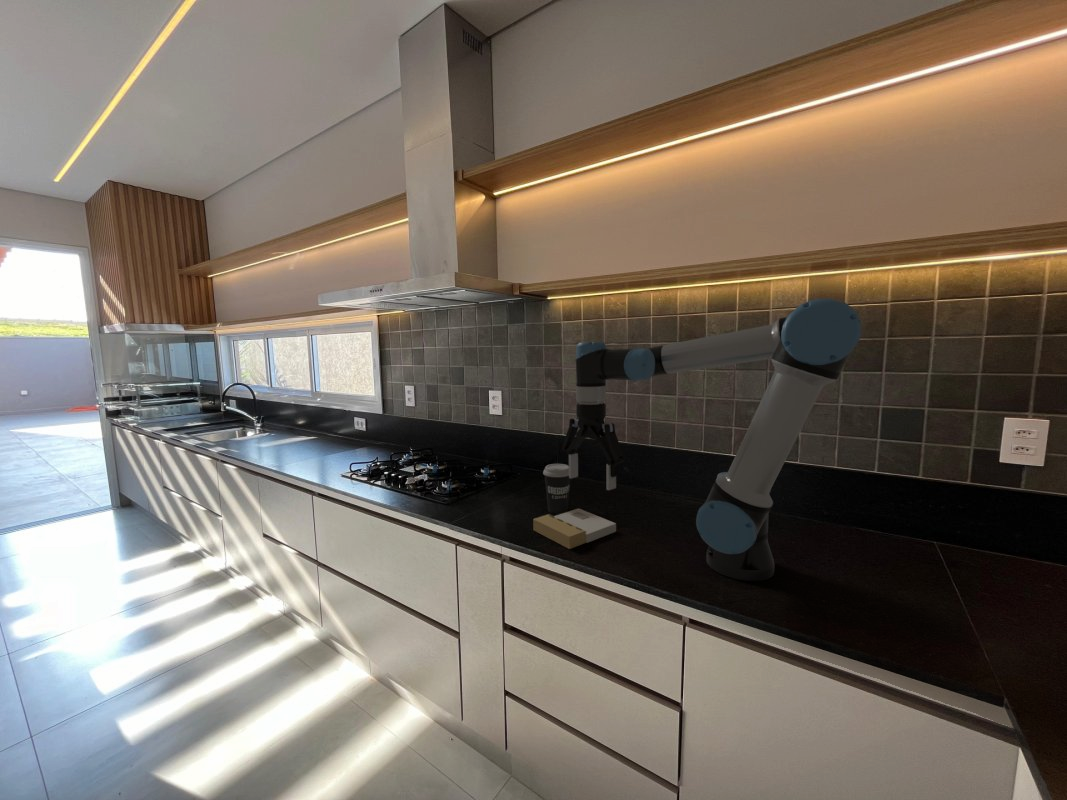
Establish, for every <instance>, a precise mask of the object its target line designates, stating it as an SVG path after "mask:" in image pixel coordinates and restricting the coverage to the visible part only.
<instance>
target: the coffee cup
mask: <svg viewBox="0 0 1067 800" xmlns="http://www.w3.org/2000/svg"><path fill="white" fill-rule="evenodd" d="M542 474H543V475H544V481H545V482H544V483H545V490H546V491H545V492H546V493H545V494H546V502H547V511H548V513H549V514H554V515H560V514H563V513H566V512H568V507H569V497H570V496H569V493H570V483H571V482H570V481H571V478H569V465H568V464H564V463H551V464H547V465H546V466H545V467H544V469H543V472H542Z"/></svg>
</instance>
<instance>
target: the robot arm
mask: <svg viewBox="0 0 1067 800" xmlns="http://www.w3.org/2000/svg"><path fill="white" fill-rule="evenodd" d="M862 327H863V326H862V321H861V319H860V316H859V314H858V313H857V311H856V310H855V309H854V308H853V307H852V306H850V305H849V304H848V303H846V302H843V301H840V300H838V299H833V298H816V299H811V300H808V301H806V302H804V303H801V304H800V305H798V306H797V307H795V309H793V310H792V311H791V312H790V313H789V315H787V316H786V317H780V318H777V319H776V321H775V322H774V323H773V324H768V325H763V326H762V325H761V326H757V327H753V328H747V329H742V330H737V331H731V332H726V333H720V334H715V335H711V336H704V337H700V338H694V339H691V340H690V339H689V340H685V341H679V342H674V343H669V344H663V345H656V346H653V347H646V348H641V347H636V348H635V347H634V348H619V349H618V348H617V349H616V348H615V349H610V348H609V349H608V348H607V346H606V343H605V342H604V341H582V342H579V343H577V345H576V348H575V349H576V350H575V361H574V362H575V374H576V378H575V379H576V382H575V384H576V386H575V390H576V391H575V400H576V402H577V403H576V404H575V406H576V408H575V409H576V411H575V412H576V414H575V415H576V417H573V418H570V419H569V422H568V429H567V432H566V435H565V438H564V439H563V440H564V441H563V443H562V447H561V450H562V451H565V452H566V454H567V465H568V466H569V478H570V479H574V478H578V477H579V453H577V452H578V451H577V450H578V449H579V447H581V444H582V443H583V442H584V440H585V439H590V440H594V441H595V442H596V443H597V444H598V446H599V447H600V449H601V451H602V453H603V455H604V456H605V458H606V460H607V462H608V463H606V465H605V466H606V467H605V469H606V474H605V475H606V477H605V478H606V489H605V490H606V491H611V490H614V489H617V477H618V475H619V464H621V463H624V462H625V460H626V458H625V455H624V453H623V449H622V448H621V444H620V442H619V439H618V436H617V434H616V428H615V426H616V425H615V424H614V423H613V422H612V423H611V422H610V423H605V418H606V416H607V405H606V403H605V401H606V400H607V399H606V397H607V396H606V395H607V394H606V390H607V389H606V385H607V384H606V382H607V380H615V381H616V380H617V381H620V380H621V381H633V382H637V381H648V380H650V379H651V378H653V377H657V376H663V375H664V376H665V375H667V374H676V373H682V372H689V371H690V372H691V371H697V370H702V369H709V368H711V369H712V368H717V367H724V366H731V365H737V364H743V363H744V364H745V363H751V362H759V361H765V360H770V361H771V364H772V365H773V367H774V371H773V374H772V376H771V379H770V381H769V383H768V385H767V387H766V390H765V392H764V393H763V396H762V398H761V400H760V403H759V404H758V406H757V409H756V411H755V413H754V414H753V417H752V420H751V422H750V424H749V425H748V429H747V430H746V433H745V434H744V437H743V439H742V441H741V443H740V445H739V448H738V450H737V452H736V454H735V456H734V458H733V461H732V462H731V465H730V466H729V469H728V470H727V471H723V472H720V473H718V474H717V476H716V479H715V481H714V483H713V484H712V487H711V490H710V492H709V494H708V496H707V498H706V500H705V502H704V503H703V504H702V505H701V506H700V507H699V509H698V511H697V514H696V518H695V520H696V521H695V525H696V530H697V532H698V533H699V535H700V537H701V539H702V540H703V542H705V543H706V544H707V545H708V547H707V550H706V563H707V565H708V566H709V567H710V568H711V569H712V570H713V571H715V572H717V573H718V574H720V575H722V576H725V577H727V578H731V579H734V580H738V581H747V582H760V581H766V580H769V579H770V578H772V577H773V576H774V575H775V561H774V557H773V554H772V550H771V548H770V545H769V541H768V535H769V516H770V515H769V513H770V511H771V509H772V507H773V505H774V501H773V499H772V497H771V495H770V493H771V491H772V487H773V486H774V483H775V481H776V480H777V477H778V476H779V475H780V474H779V473H780V472H781V470H782V468H783V466H784V464H785V462H786V459H787V458H788V456H789V455H790V452H791V450H792V449H793V446H794V445H795V442H796V440H797V438H798V436H799V435H800V433H801V431H802V429H803V426H804V425H805V423H806V421H807V419H808V417H809V415H810V412H811V411H812V408H813V407H814V405H815V403H816V401H817V398H818V397H819V395H820V393H821V392H822V389H823V388H824V387H825V386H826V385H828V384H832V383H834V382H837V380H838V379H839V376H840V375H841V372H842V370H843V369H844V367H845V365H846V363H847V361H848V359H849V357H850V355H851V353H852V352H853V350H854V349H855V348H856V347H857V345H858V344H859V342H860V339H861V336H862Z"/></svg>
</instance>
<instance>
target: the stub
mask: <svg viewBox="0 0 1067 800" xmlns="http://www.w3.org/2000/svg"><path fill="white" fill-rule="evenodd" d="M554 516H555V515H552V514H550V513H549V514H545V515H541V516H538V517H535V518H533V520H532V521H533V522H532V523H533V525H532V526H533V527H532V528H533V530H532V531H534V532H536V533H538V534H540V535H542V536H543V537H546V538H547V539H549V540H551V541H553V542H556V543H557V544H559V545H561V546H562V547H565V548H566V549H568V550H572V549H573V548H576V547H578V546H581V545H583V544H586V531H585V530H583V529H580V528H578V527H576V526H574V525H572V524H569V523H567V522H565V521H563V520H561V519H558V518H556V517H554Z"/></svg>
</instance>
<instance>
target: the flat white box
mask: <svg viewBox="0 0 1067 800" xmlns="http://www.w3.org/2000/svg"><path fill="white" fill-rule="evenodd" d="M553 516H554V517H556V518H558V519H561V520H563V521H565V522H567V523H569V524H572V525H574V526H576V527H578V528H580V529H583V530H585V531H586V543H587V544H588V543H590V542H593V541H596V540H598V539H601V538H603V537H605V536H608V535H610V534H611V535H612V534H613V533H616V532H617V523H616V522H613V521H611V520H608V519H606V518H604V517H601V516H598V515H596V514H593V513H591V512H589V511H586V510H583V509H581V508H575V509H573V510H569V511H567V512H566V513H563V514H555V515H553ZM586 543H585V544H586Z"/></svg>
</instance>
